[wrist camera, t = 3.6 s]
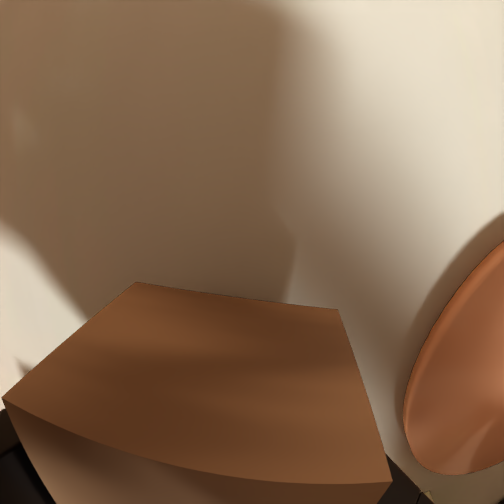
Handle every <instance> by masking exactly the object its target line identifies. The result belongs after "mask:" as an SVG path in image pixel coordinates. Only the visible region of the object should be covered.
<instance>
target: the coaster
mask: <svg viewBox="0 0 504 504" xmlns="http://www.w3.org/2000/svg"><path fill="white" fill-rule="evenodd" d="M403 424H404V431H405V434H406V437H407V440H408V443H409V445H410V448H411V451H412V453H413V455H414V457H415V458H416V460H417V461H418V462H419V463H420V464H421V465H422V466H423V467H424V468H426V469H428V470H430V471H432V472H435V473H439V474H445V475H461V474H467V473H472V472H476V471H480V470H483V469H486V468H488V467H491V466H493V465H496V464H498V463H500V462H502V461H504V241H503V242H502V243H501V244H499V245H498V246H497V247H496V248H495V249H494V250H492V251H491V252H490V253H489V254H488V255H487V256H486V257H485V258H484V260H483V261H482V262H481V263H480V264H479V265H478V266H477V267H476V268H475V269H474V270H473V271H472V273H471V274H470V275H469V276H468V277H467V279H466V280H465V281H464V282H463V283H462V285H461V286H460V287H459V288H458V290H457V291H456V293H455V294H454V296H453V297H452V298H451V300H450V301H449V303H448V304H447V305H446V307H445V308H444V310H443V312H442V313H441V315H440V316H439V318H438V320H437V321H436V323H435V324H434V326H433V328H432V330H431V331H430V333H429V335H428V337H427V339H426V341H425V343H424V345H423V347H422V348H421V351H420V353H419V356H418V358H417V360H416V362H415V365H414V367H413V370H412V373H411V376H410V379H409V382H408V385H407V389H406V394H405V399H404V405H403Z"/></svg>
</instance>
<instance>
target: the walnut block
mask: <svg viewBox="0 0 504 504" xmlns="http://www.w3.org/2000/svg"><path fill="white" fill-rule="evenodd" d="M1 398H2V400H3V403H4V405H5V408H6V410H7V413H8V415H9V417H10V419H11V422H12V424H13V426H14V428H15V431H16V433H17V435H18V437H19V439H20V441H21V443H22V445H23V447H24V449H25V451H26V453H27V455H28V457H29V459H30V460H31V462H32V464H33V466H34V468H35V469H36V471H37V473H38V475H39V476H40V478H41V480H42V481H43V483H44V485H45V486H46V488H47V490H48V491H49V493H50V494H51V496H52V497H53V499H54V501H55V502H56V504H377V503H378V501H379V500H380V498H381V497H382V496H383V494H384V493H385V492H386V490H387V489H388V487H389V486H390V484H391V483H392V481H393V480H392V477H391V473H390V469H389V466H388V462H387V459H386V455H385V452H384V448H383V445H382V441H381V438H380V435H379V431H378V428H377V425H376V421H375V418H374V415H373V412H372V409H371V405H370V402H369V399H368V396H367V393H366V390H365V387H364V384H363V381H362V378H361V375H360V372H359V369H358V366H357V363H356V360H355V357H354V354H353V351H352V348H351V345H350V343H349V340H348V337H347V334H346V331H345V328H344V326H343V323H342V320H341V317H340V315H339V312H338V309H328V308H319V307H310V306H301V305H292V304H284V303H276V302H268V301H260V300H252V299H245V298H238V297H230V296H223V295H216V294H209V293H202V292H196V291H189V290H183V289H176V288H170V287H164V286H158V285H152V284H146V283H140V282H135V283H134V284H133V285H132V286H130V287H129V288H128V289H127V290H125V291H124V292H123V293H122V294H120V295H119V296H118V297H117V298H116V299H114V300H113V301H112V302H111V303H109V304H108V305H107V306H106V307H105V308H103V309H102V310H101V311H100V312H99V313H97V314H96V315H95V316H94V317H93V318H91V319H90V320H89V321H88V322H87V323H85V324H84V325H83V326H82V327H81V328H79V329H78V330H77V331H76V332H75V333H74V334H72V335H71V336H70V337H69V338H68V339H66V340H65V341H64V342H63V343H62V344H61V345H60V346H58V347H57V348H56V349H55V350H54V351H53V352H51V353H50V354H49V355H48V356H47V357H46V358H45V359H43V360H42V361H41V362H40V363H39V364H38V365H37V366H36V367H34V368H33V369H32V370H31V371H30V372H29V373H28V374H27V375H25V376H24V377H23V378H22V379H21V380H20V381H19V382H18V383H17V384H16V385H14V386H13V387H12V388H11V389H10V390H9V391H8V392H7V393H6V394H5V395H4V396H3V397H1Z"/></svg>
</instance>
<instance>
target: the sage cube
mask: <svg viewBox="0 0 504 504" xmlns="http://www.w3.org/2000/svg"><path fill="white" fill-rule="evenodd" d="M424 494H425V495H426V496H427V497H428V498H429V499H430V500H431V501H432V502H433V500H432V497H431V494H430V491H427V492H425V493H424Z"/></svg>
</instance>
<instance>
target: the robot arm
mask: <svg viewBox="0 0 504 504" xmlns="http://www.w3.org/2000/svg"><path fill="white" fill-rule="evenodd" d="M385 455H386V453H385ZM386 459H387V462H388V466H389V469H390V473H391V477H392V480H393V481H392V483H391V484H390V486H389V487H388V489H387V490H386V492H385V493H384V494H383V496H382V497H381V498H380V500H379V501H378V503H377V504H434V503H433V502H432V501H431V500H430V499H429V498H428V497H427V496H426V495H425V494H424V493H423V492H421V490H420V489H419V488H418V487H417V486H416V485H415V484H414V483H413V482H412V481H411V480H410V478H409V477H408V476H407V475H406V474H405V473H404V472H403V471H402V470H401V469H400V468H399V467H398V466H397V465H396V464H395V463H394V462H393V461H392V460H391V459H390V458H389V457H388V456H387V455H386ZM420 492H421V493H420ZM0 504H56V502H55V501H54V499H53V497H52V496H51V494H50V493H49V491H48V490H47V488H46V486H45V485H44V483H43V481H42V480H41V478H40V476H39V475H38V473H37V471H36V469H35V468H34V466H33V464H32V462H31V460H30V459H29V457H28V455H27V453H26V451H25V449H24V447H23V445H22V443H21V441H20V439H19V437H18V435H17V433H16V431H15V428H14V426H13V424H12V422H11V419H10V417H9V415H8V413H7V410H6V408H5V409H2V410H1V411H0ZM500 504H504V500H503V501H502V502H501V503H500Z"/></svg>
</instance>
